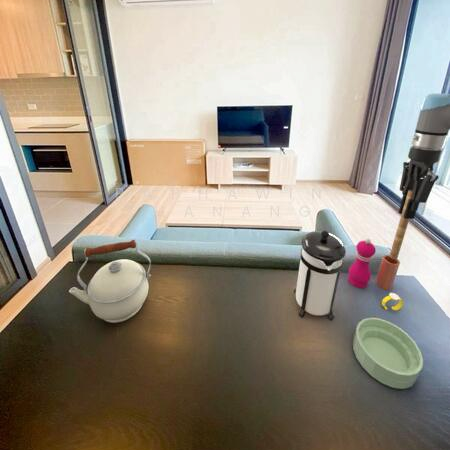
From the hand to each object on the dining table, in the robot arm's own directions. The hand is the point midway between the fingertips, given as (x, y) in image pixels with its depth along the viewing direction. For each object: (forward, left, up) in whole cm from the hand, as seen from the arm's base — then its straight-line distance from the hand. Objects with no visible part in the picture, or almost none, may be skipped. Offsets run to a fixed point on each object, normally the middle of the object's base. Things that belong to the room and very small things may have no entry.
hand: (405, 215), depth 81 cm
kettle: (+97, -11, -31) cm, 102 cm away
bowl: (+21, +22, -31) cm, 43 cm away
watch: (+6, +9, -31) cm, 33 cm away
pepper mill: (+9, -3, -31) cm, 32 cm away
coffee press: (+31, +1, -31) cm, 44 cm away
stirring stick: (0, 0, -17) cm, 17 cm away
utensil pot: (0, 0, -31) cm, 31 cm away
